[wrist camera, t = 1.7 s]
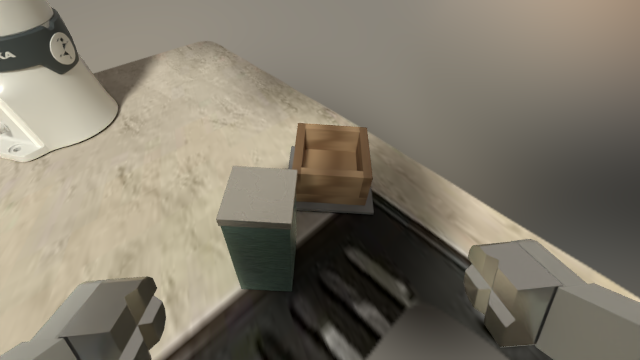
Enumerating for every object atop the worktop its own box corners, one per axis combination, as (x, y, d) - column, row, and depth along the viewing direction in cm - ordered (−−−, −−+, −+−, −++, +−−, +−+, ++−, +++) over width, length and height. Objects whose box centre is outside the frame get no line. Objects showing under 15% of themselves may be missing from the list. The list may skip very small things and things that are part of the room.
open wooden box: (292, 201, 37) (291, 173, 34) (298, 151, 43) (298, 123, 40) (365, 205, 38) (372, 178, 34) (360, 155, 44) (366, 127, 40)
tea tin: (240, 289, 30) (216, 219, 21) (250, 243, 34) (233, 165, 25) (292, 292, 30) (291, 223, 21) (297, 246, 34) (297, 169, 25)
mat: (283, 209, 37) (283, 207, 37) (291, 148, 44) (291, 146, 44) (373, 214, 37) (373, 212, 37) (366, 153, 45) (367, 151, 44)
